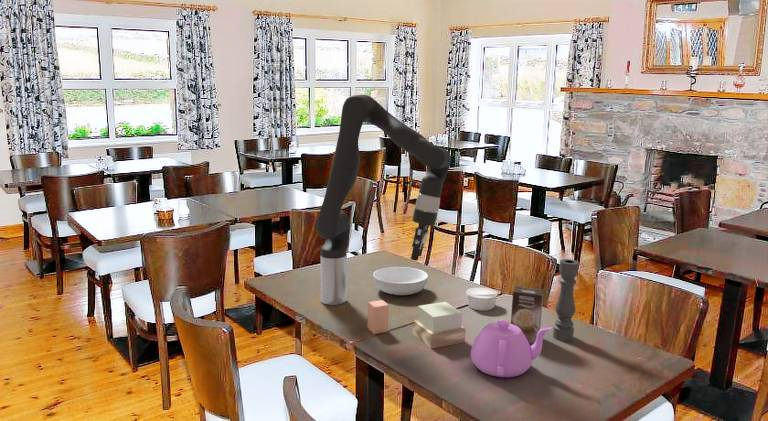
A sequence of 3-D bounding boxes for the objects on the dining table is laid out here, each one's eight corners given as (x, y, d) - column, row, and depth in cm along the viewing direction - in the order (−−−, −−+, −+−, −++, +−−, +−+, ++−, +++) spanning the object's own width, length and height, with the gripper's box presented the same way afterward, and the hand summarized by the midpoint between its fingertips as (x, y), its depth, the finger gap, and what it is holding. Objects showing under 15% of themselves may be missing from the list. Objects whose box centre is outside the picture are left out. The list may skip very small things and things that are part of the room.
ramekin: (482, 314, 216) (483, 300, 215) (458, 305, 224) (459, 291, 223) (503, 307, 223) (504, 293, 222) (479, 298, 232) (479, 285, 230)
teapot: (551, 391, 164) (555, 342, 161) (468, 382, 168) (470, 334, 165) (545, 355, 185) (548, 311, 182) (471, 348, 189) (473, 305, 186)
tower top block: (417, 320, 198) (418, 305, 196) (445, 316, 202) (445, 301, 200) (432, 332, 189) (433, 317, 188) (461, 327, 193) (462, 312, 192)
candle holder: (562, 342, 194) (569, 265, 189) (548, 335, 200) (554, 260, 194) (577, 339, 197) (584, 263, 192) (563, 331, 203) (569, 257, 197)
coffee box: (508, 340, 195) (511, 291, 192) (511, 332, 201) (514, 285, 198) (538, 344, 193) (542, 295, 189) (540, 336, 198) (544, 288, 195)
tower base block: (412, 334, 199) (413, 320, 198) (445, 328, 204) (445, 314, 203) (430, 349, 189) (431, 334, 188) (464, 343, 194) (465, 328, 192)
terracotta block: (367, 328, 203) (367, 301, 201) (381, 325, 205) (382, 299, 203) (373, 333, 198) (374, 307, 196) (388, 331, 200) (388, 305, 198)
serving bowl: (437, 289, 241) (437, 272, 239) (409, 305, 224) (410, 287, 222) (391, 279, 252) (391, 262, 250) (361, 293, 234) (362, 276, 233)
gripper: (418, 204, 207) (408, 251, 209) (411, 208, 193) (401, 258, 195) (440, 209, 206) (429, 257, 208) (435, 213, 192) (424, 264, 194)
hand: (416, 257), depth 201 cm, fingers open, 8 cm apart
